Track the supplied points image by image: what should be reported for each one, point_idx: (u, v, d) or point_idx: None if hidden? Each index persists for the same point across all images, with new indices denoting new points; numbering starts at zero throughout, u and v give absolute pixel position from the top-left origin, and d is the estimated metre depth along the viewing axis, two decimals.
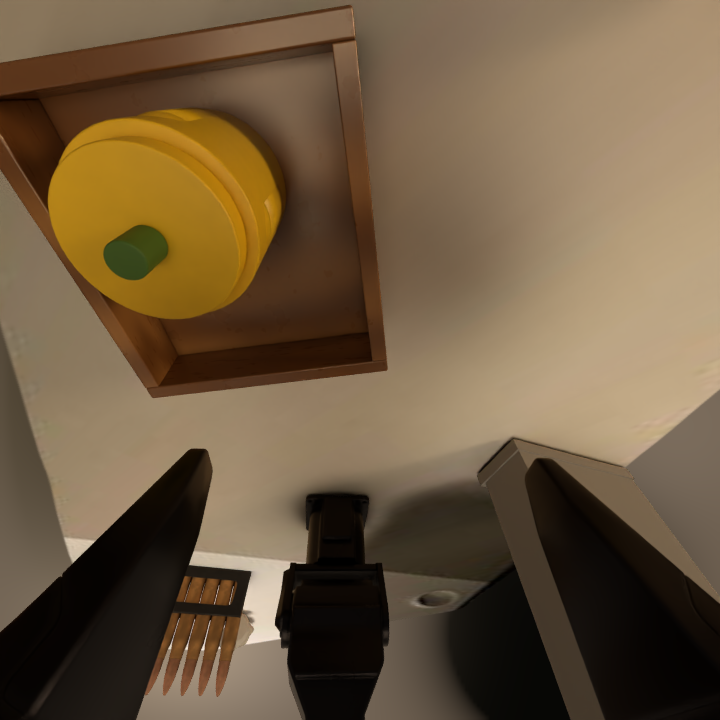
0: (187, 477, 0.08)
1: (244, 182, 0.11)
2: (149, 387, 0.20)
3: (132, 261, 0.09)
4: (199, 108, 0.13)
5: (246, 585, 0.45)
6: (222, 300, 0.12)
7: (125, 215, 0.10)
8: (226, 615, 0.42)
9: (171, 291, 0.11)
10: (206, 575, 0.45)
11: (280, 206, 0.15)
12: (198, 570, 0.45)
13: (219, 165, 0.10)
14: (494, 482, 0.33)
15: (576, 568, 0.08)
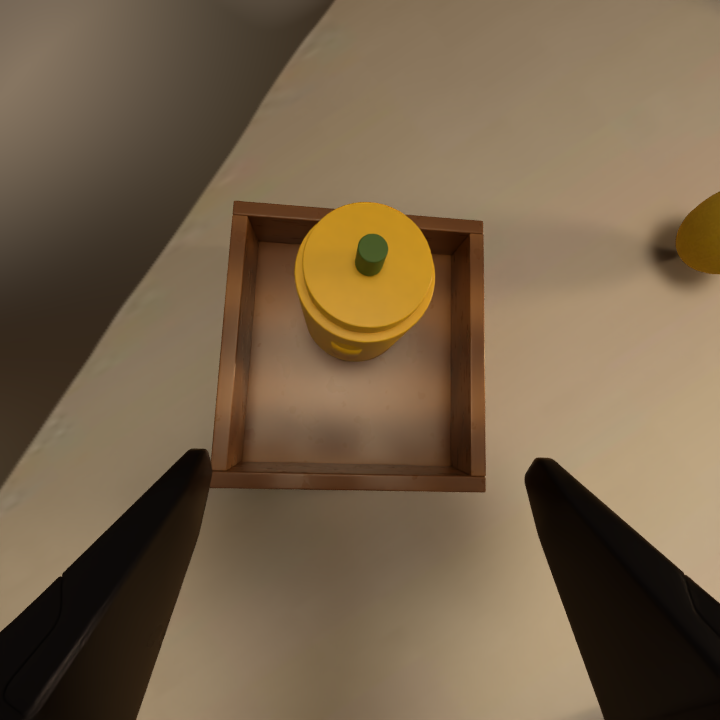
0: (187, 477, 0.08)
1: None
2: (214, 470, 0.17)
3: (378, 248, 0.12)
4: None
5: None
6: (404, 316, 0.14)
7: None
8: None
9: (366, 301, 0.14)
10: None
11: None
12: None
13: None
14: None
15: (576, 568, 0.08)
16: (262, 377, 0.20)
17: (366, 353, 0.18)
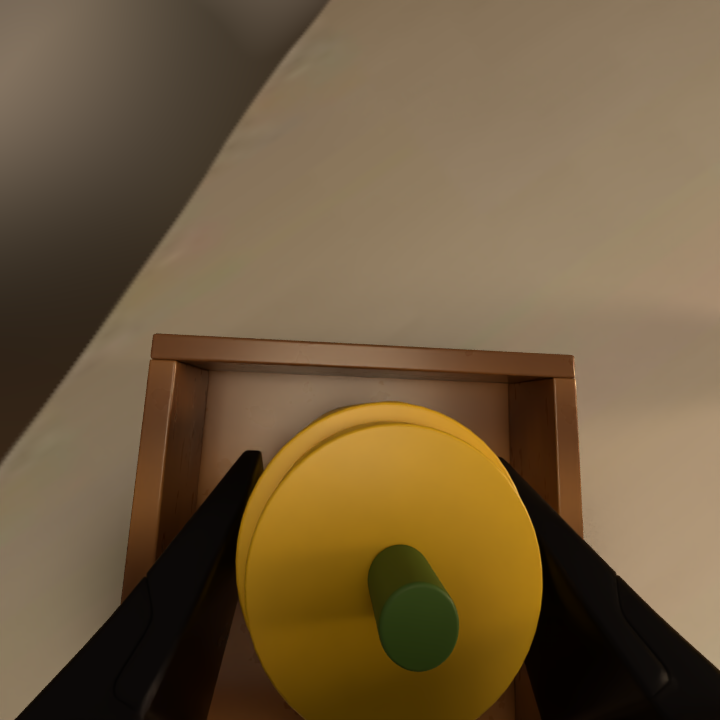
0: (248, 478, 0.08)
1: None
2: None
3: (434, 629, 0.05)
4: None
5: None
6: (482, 712, 0.06)
7: (385, 525, 0.06)
8: None
9: (394, 678, 0.06)
10: None
11: None
12: None
13: (504, 473, 0.07)
14: None
15: None
16: None
17: None
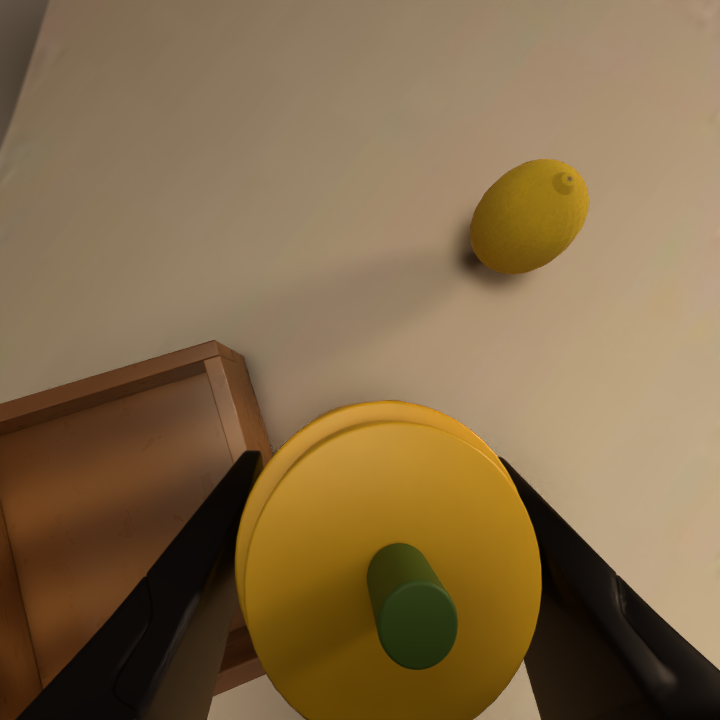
0: (248, 478, 0.08)
1: None
2: None
3: (432, 627, 0.05)
4: None
5: None
6: (482, 710, 0.06)
7: (384, 524, 0.06)
8: None
9: (393, 676, 0.06)
10: None
11: None
12: None
13: (503, 472, 0.07)
14: None
15: None
16: (41, 598, 0.17)
17: None
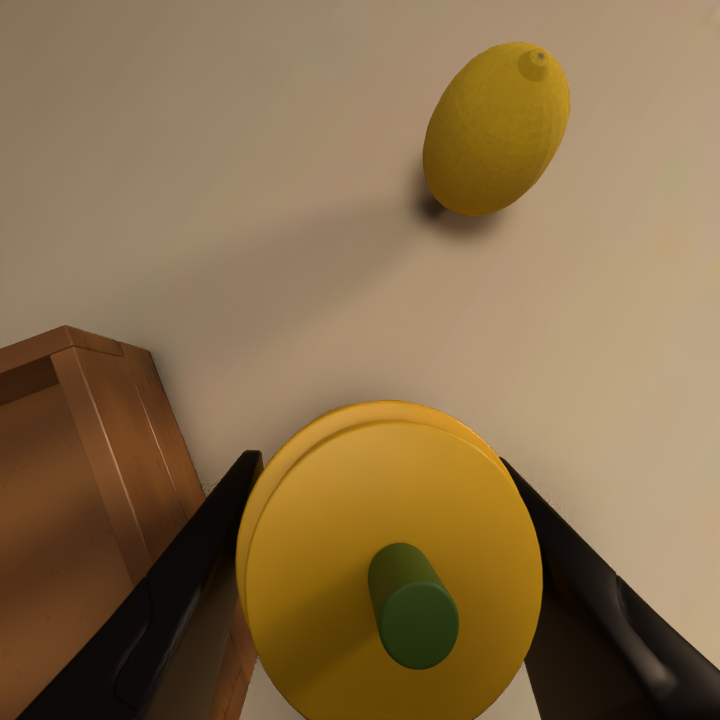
0: (248, 478, 0.08)
1: None
2: None
3: (434, 627, 0.05)
4: None
5: None
6: (482, 710, 0.06)
7: (385, 524, 0.06)
8: None
9: (394, 676, 0.06)
10: None
11: None
12: None
13: (504, 472, 0.07)
14: None
15: None
16: None
17: None
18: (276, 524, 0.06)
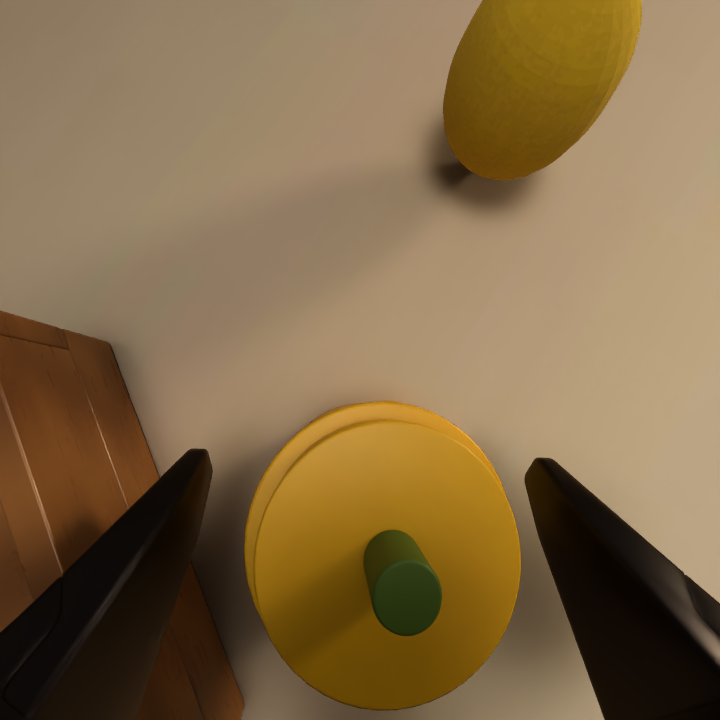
0: (187, 477, 0.08)
1: None
2: None
3: (420, 599, 0.05)
4: None
5: None
6: (465, 679, 0.07)
7: (379, 513, 0.07)
8: None
9: (386, 648, 0.07)
10: None
11: None
12: None
13: (489, 467, 0.08)
14: None
15: (576, 568, 0.08)
16: None
17: None
18: (282, 513, 0.07)
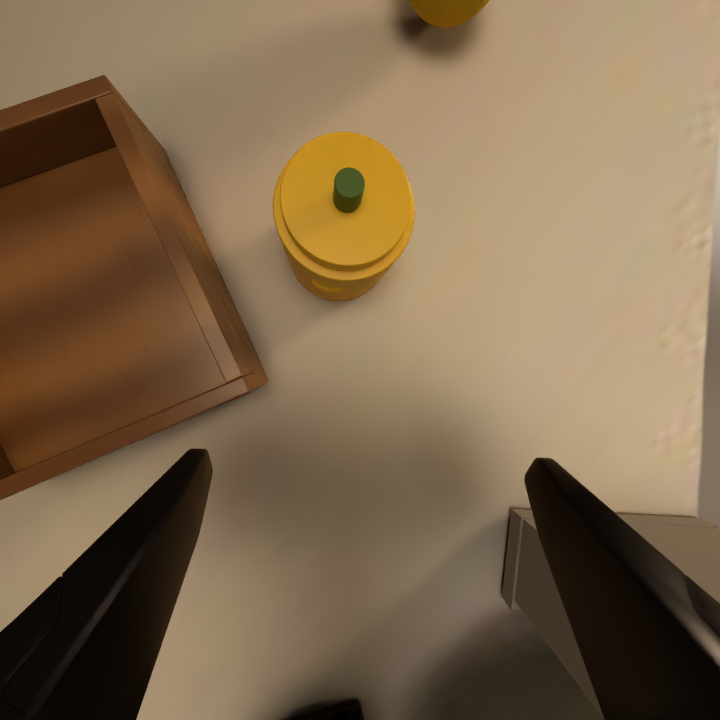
0: (187, 477, 0.08)
1: None
2: None
3: (354, 183, 0.12)
4: None
5: None
6: (380, 255, 0.14)
7: None
8: None
9: (343, 239, 0.14)
10: None
11: None
12: None
13: None
14: (522, 591, 0.21)
15: (576, 568, 0.08)
16: None
17: (347, 292, 0.18)
18: (293, 172, 0.14)
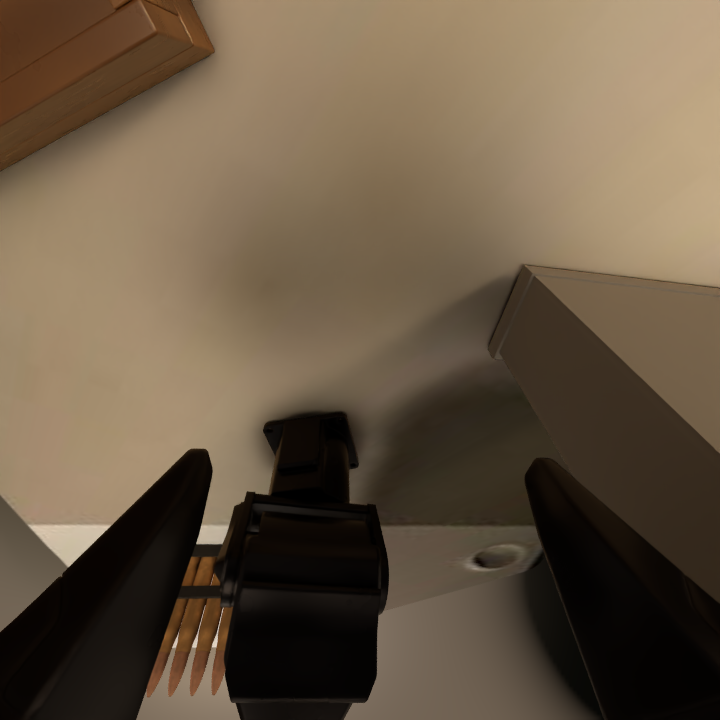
0: (187, 477, 0.08)
1: None
2: None
3: None
4: None
5: None
6: None
7: None
8: None
9: None
10: (199, 553, 0.38)
11: None
12: None
13: None
14: (509, 344, 0.21)
15: (576, 568, 0.08)
16: None
17: None
18: None
